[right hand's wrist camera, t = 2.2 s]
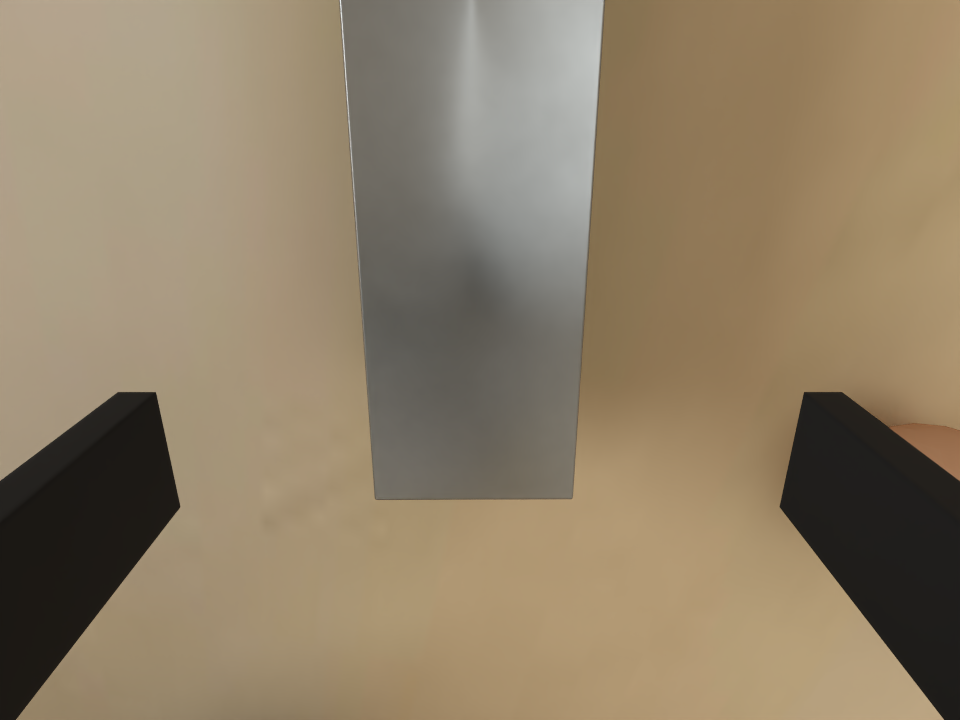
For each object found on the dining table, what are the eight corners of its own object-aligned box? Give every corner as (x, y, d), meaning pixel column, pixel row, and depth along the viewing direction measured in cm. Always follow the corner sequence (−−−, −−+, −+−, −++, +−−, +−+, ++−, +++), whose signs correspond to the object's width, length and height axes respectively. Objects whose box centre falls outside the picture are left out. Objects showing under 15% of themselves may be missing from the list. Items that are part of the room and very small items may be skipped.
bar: (540, 373, 25) (572, 499, 17) (408, 374, 25) (374, 500, 17) (573, -476, 16) (678, -1116, 8) (370, -477, 16) (258, -1123, 8)
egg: (807, 526, 28) (927, 670, 21) (801, 412, 26) (931, 526, 19) (942, 500, 28) (1114, 637, 20) (947, 381, 25) (1140, 486, 18)
